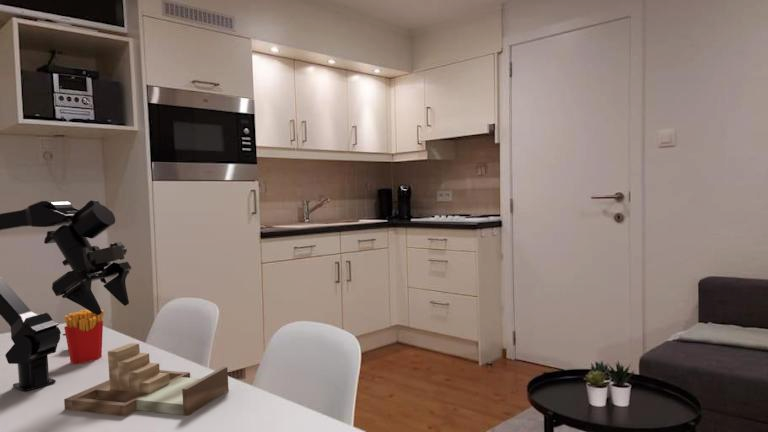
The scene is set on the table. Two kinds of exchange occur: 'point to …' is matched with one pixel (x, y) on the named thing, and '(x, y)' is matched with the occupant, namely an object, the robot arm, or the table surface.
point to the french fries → (84, 336)
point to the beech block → (134, 370)
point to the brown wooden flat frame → (153, 395)
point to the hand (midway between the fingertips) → (114, 309)
